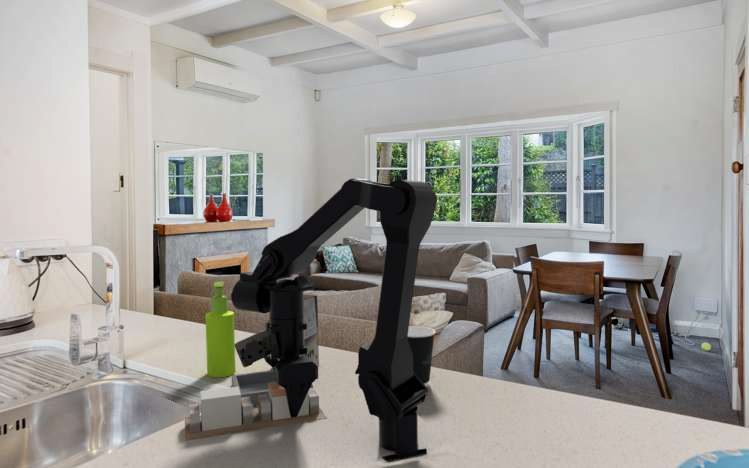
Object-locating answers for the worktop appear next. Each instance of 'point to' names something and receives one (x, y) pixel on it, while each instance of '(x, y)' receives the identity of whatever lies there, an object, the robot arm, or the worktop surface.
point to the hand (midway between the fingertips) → (288, 407)
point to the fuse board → (251, 417)
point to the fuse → (220, 408)
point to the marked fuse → (283, 402)
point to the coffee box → (311, 327)
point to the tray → (254, 384)
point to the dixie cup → (421, 350)
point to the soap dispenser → (220, 336)
